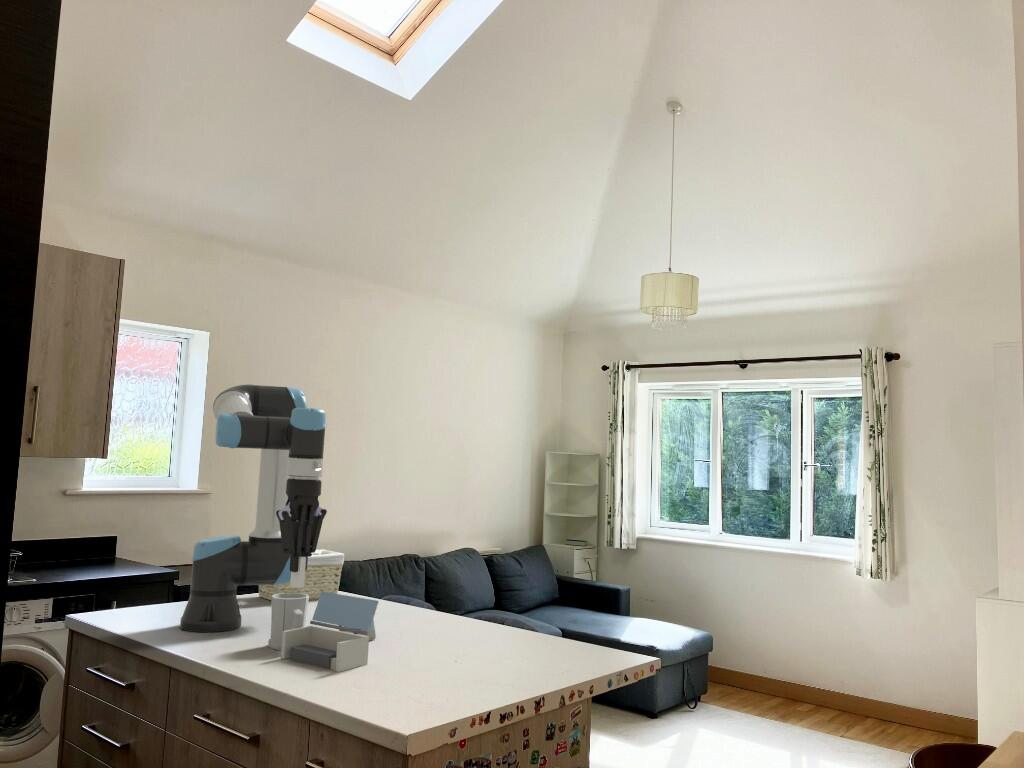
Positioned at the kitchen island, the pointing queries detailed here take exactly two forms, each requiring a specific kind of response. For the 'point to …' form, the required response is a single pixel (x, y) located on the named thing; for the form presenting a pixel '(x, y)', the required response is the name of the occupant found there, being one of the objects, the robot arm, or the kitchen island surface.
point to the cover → (345, 612)
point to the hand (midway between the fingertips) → (297, 586)
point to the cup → (286, 615)
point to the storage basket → (313, 577)
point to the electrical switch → (370, 633)
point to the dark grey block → (314, 656)
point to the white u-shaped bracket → (329, 644)
